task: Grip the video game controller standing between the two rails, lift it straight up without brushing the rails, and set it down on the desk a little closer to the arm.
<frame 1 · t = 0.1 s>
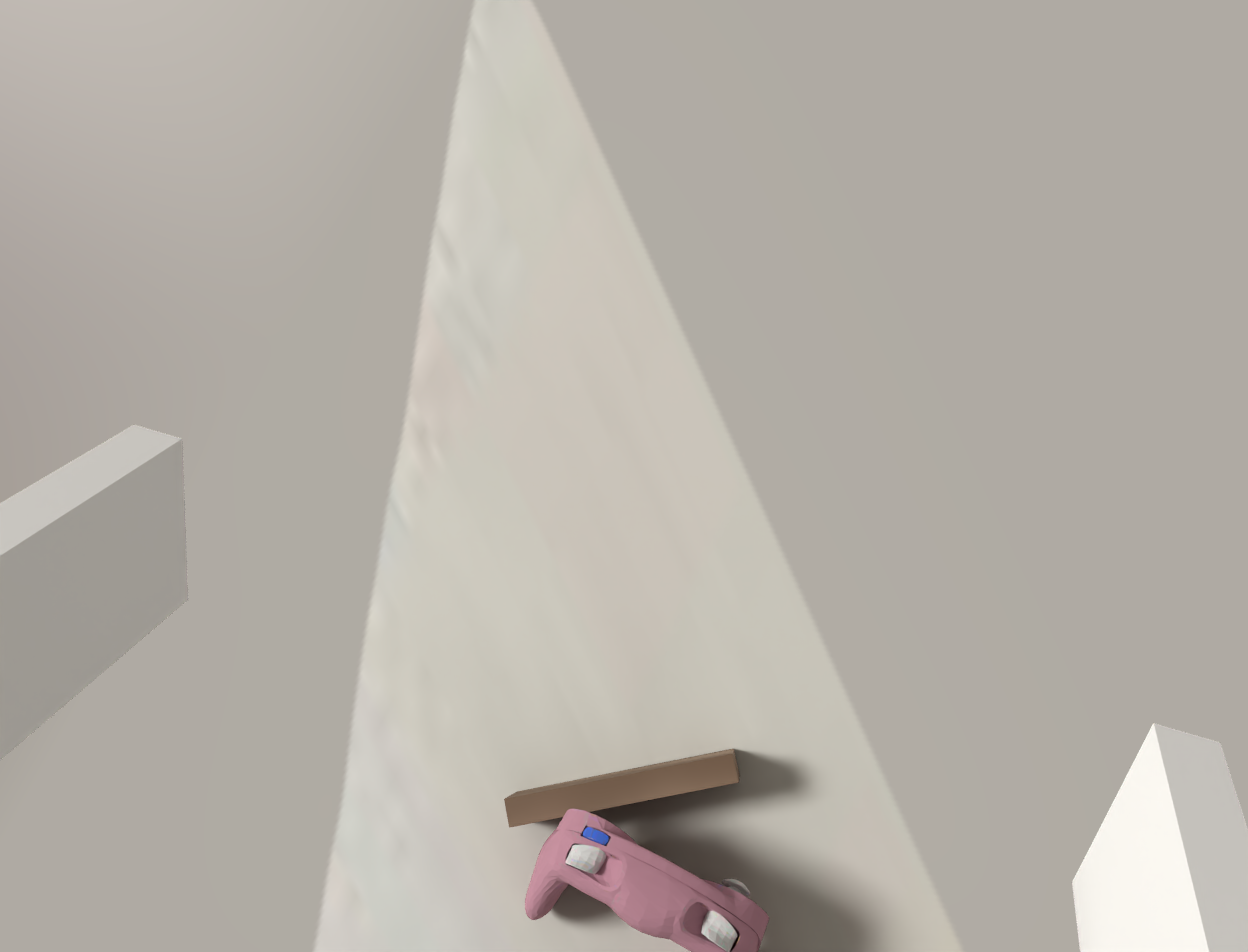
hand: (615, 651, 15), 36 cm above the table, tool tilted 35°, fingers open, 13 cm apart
dock: (651, 908, 48), on the table
video game controller: (648, 895, 48), on the table, touching dock
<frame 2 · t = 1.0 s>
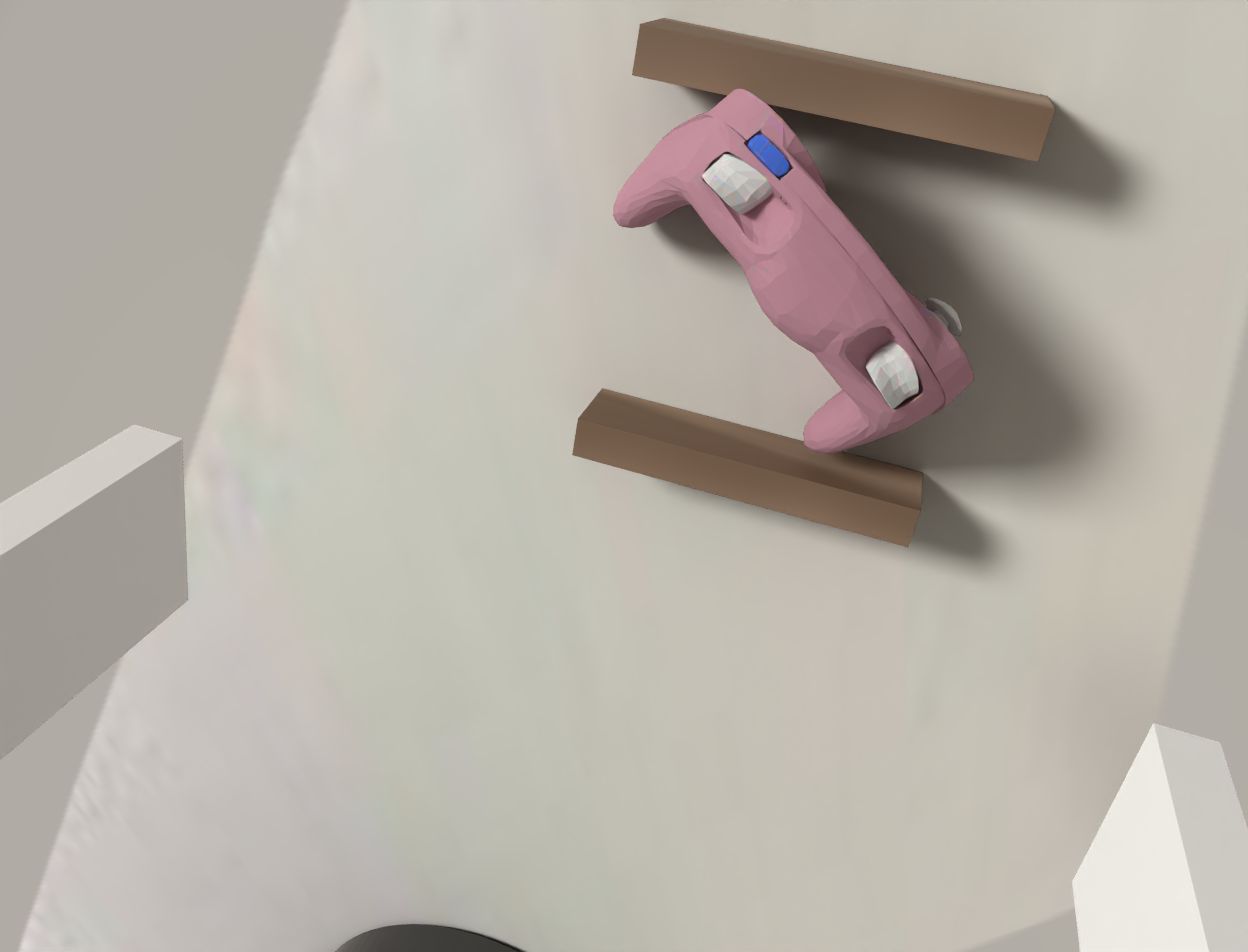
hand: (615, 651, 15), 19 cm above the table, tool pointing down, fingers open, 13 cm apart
dock: (795, 278, 31), on the table
video game controller: (800, 258, 31), on the table, touching dock
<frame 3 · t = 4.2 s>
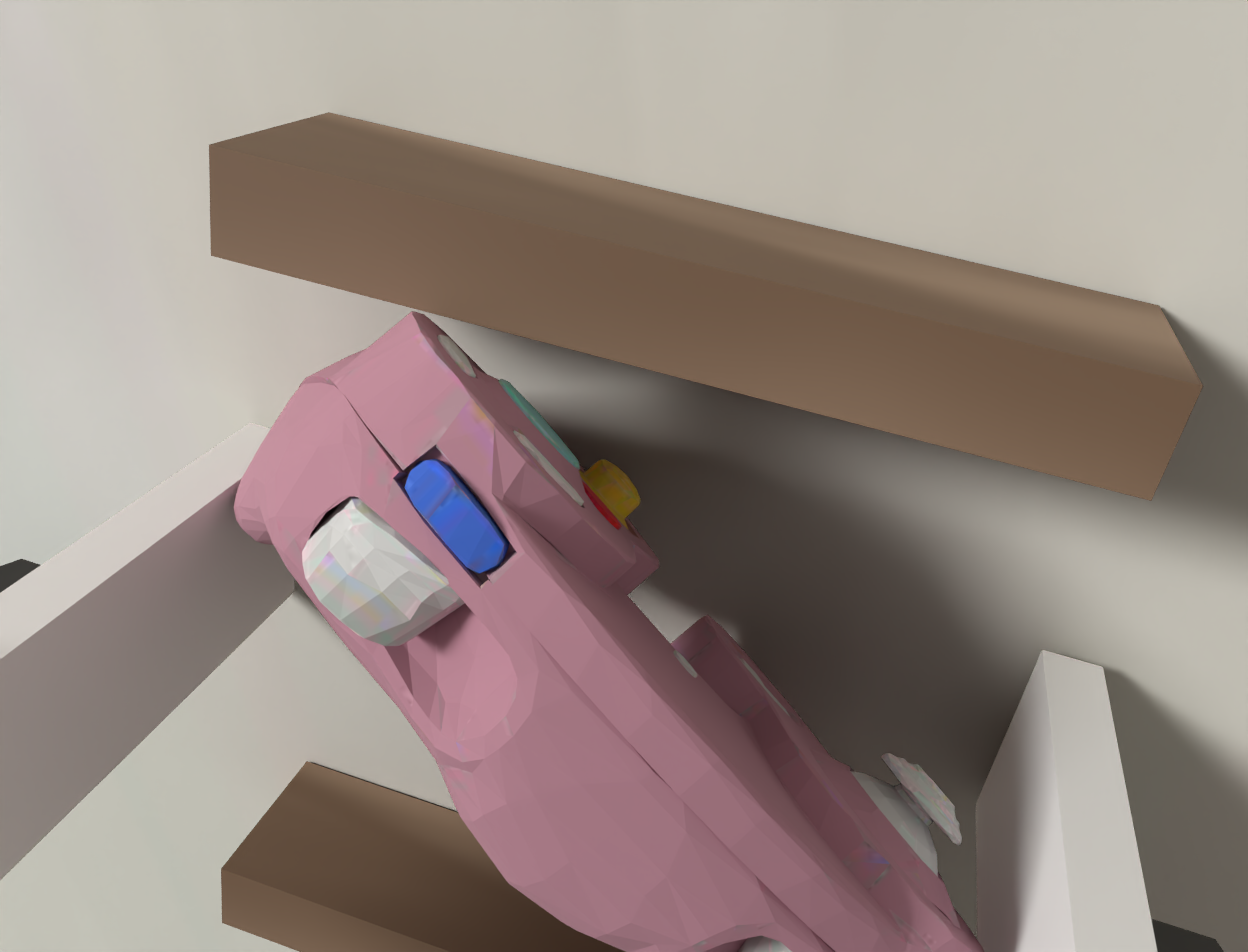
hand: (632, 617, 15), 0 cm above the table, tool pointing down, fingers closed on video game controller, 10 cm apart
dock: (632, 618, 16), on the table
video game controller: (640, 581, 15), on the table, touching gripper
when the fingers open (1 cm above the table, at t = 11.2 s): video game controller moves 1 cm, on the table.
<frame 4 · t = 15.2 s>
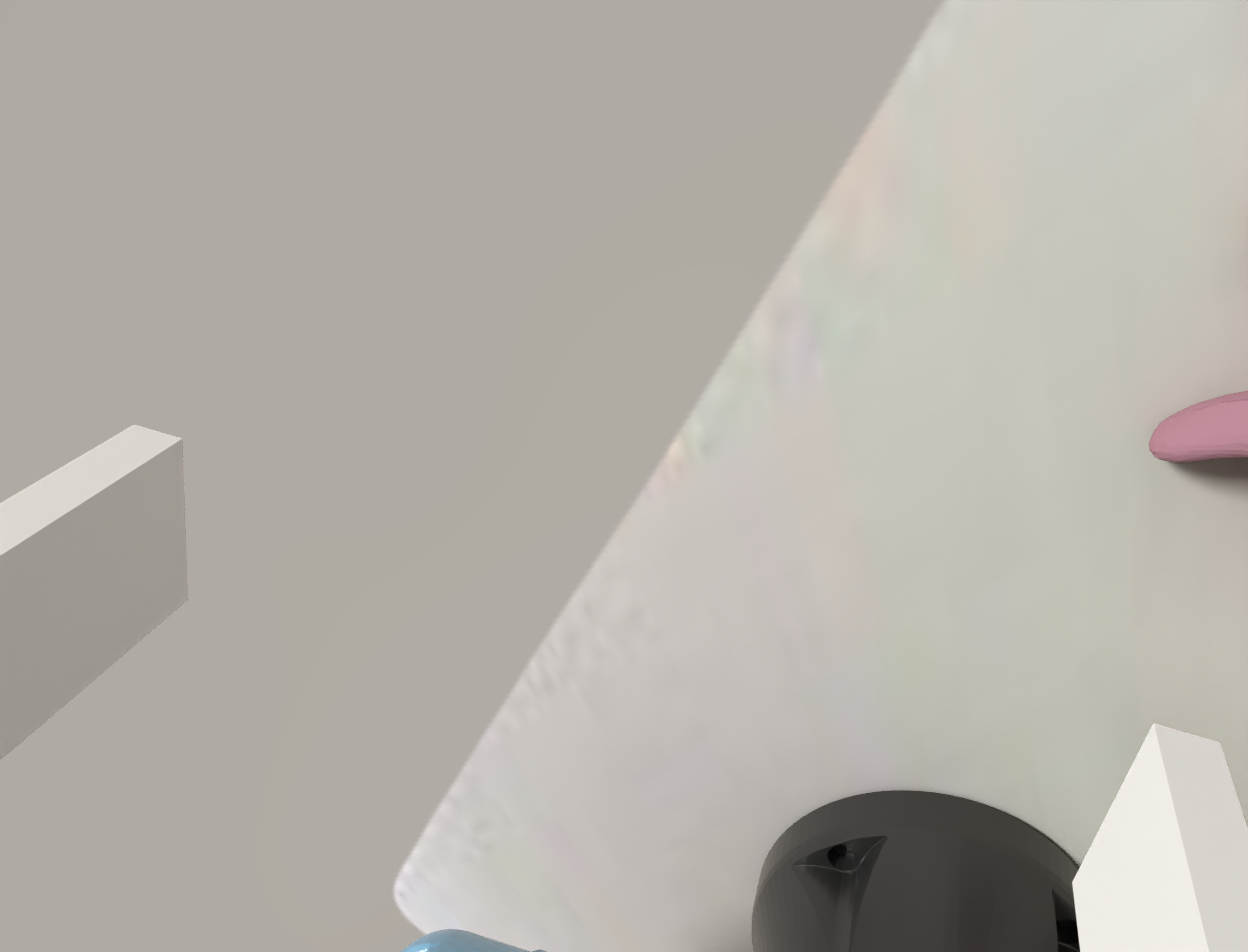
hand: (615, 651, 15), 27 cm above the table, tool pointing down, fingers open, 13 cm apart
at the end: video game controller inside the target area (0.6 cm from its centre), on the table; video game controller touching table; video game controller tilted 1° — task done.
